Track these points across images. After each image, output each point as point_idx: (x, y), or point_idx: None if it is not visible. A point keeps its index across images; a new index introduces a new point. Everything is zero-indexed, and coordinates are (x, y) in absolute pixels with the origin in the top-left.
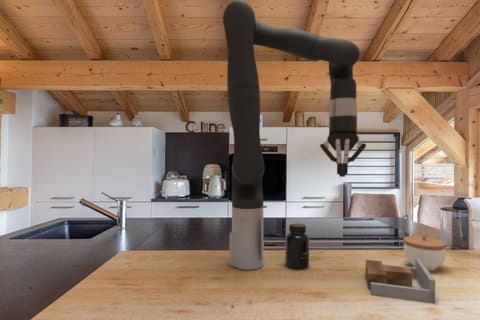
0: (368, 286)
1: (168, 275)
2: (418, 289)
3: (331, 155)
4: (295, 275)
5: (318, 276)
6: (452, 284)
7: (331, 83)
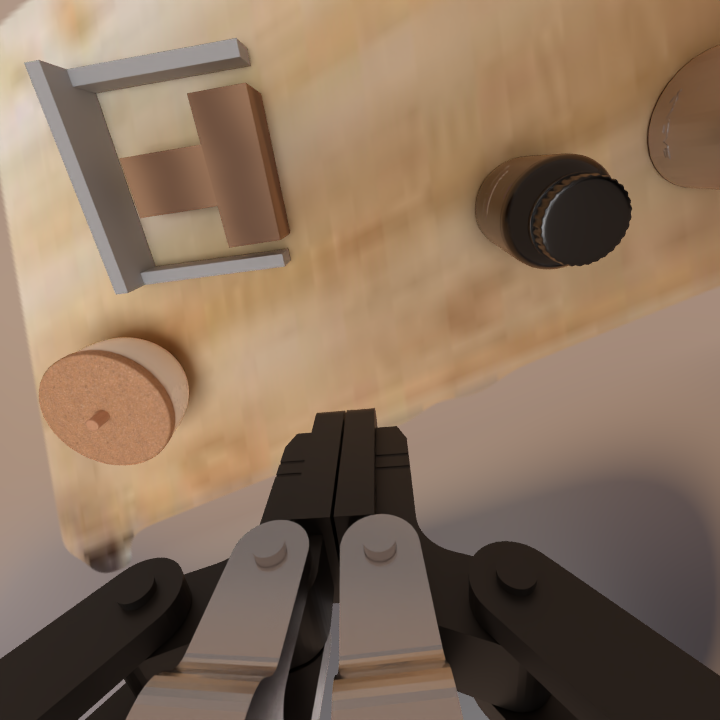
0: (258, 92)
1: None
2: (97, 67)
3: (576, 657)
4: (509, 98)
5: (429, 131)
6: (66, 264)
7: None
